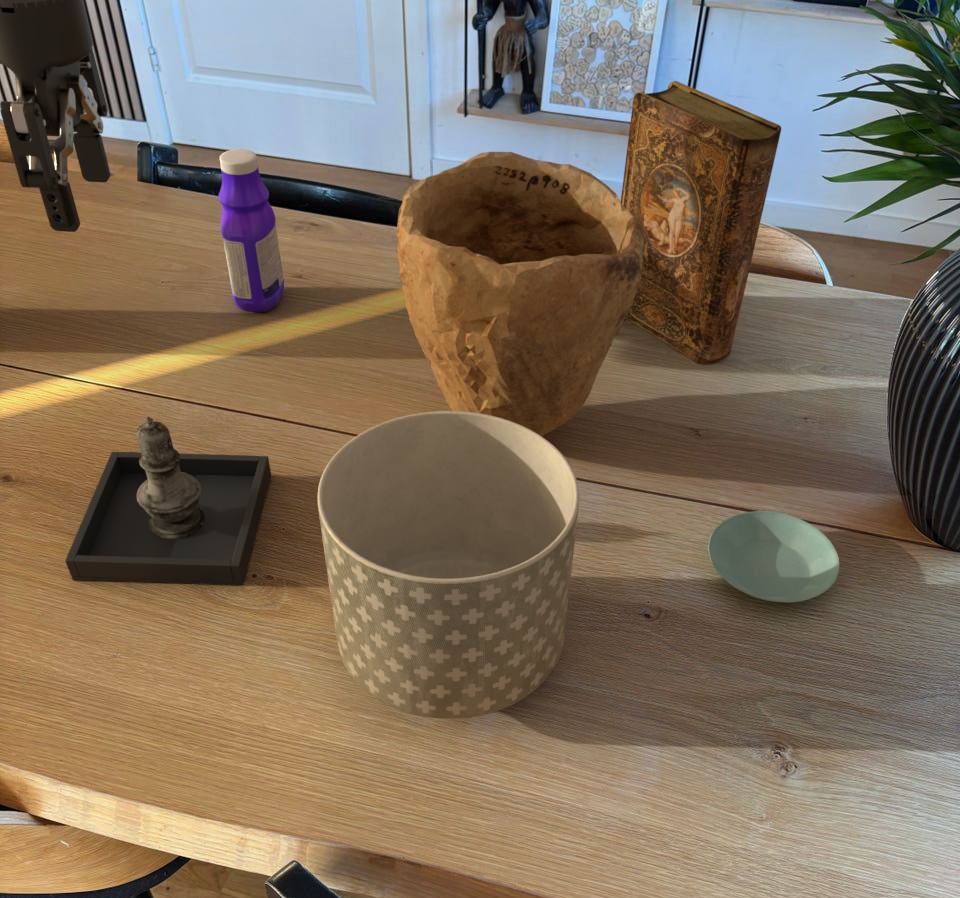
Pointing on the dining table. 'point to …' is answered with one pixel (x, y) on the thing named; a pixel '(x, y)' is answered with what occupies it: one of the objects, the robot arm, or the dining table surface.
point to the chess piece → (167, 485)
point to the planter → (449, 560)
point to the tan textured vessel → (517, 283)
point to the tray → (190, 560)
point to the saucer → (773, 556)
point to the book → (695, 213)
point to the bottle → (249, 233)
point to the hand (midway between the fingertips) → (82, 204)
